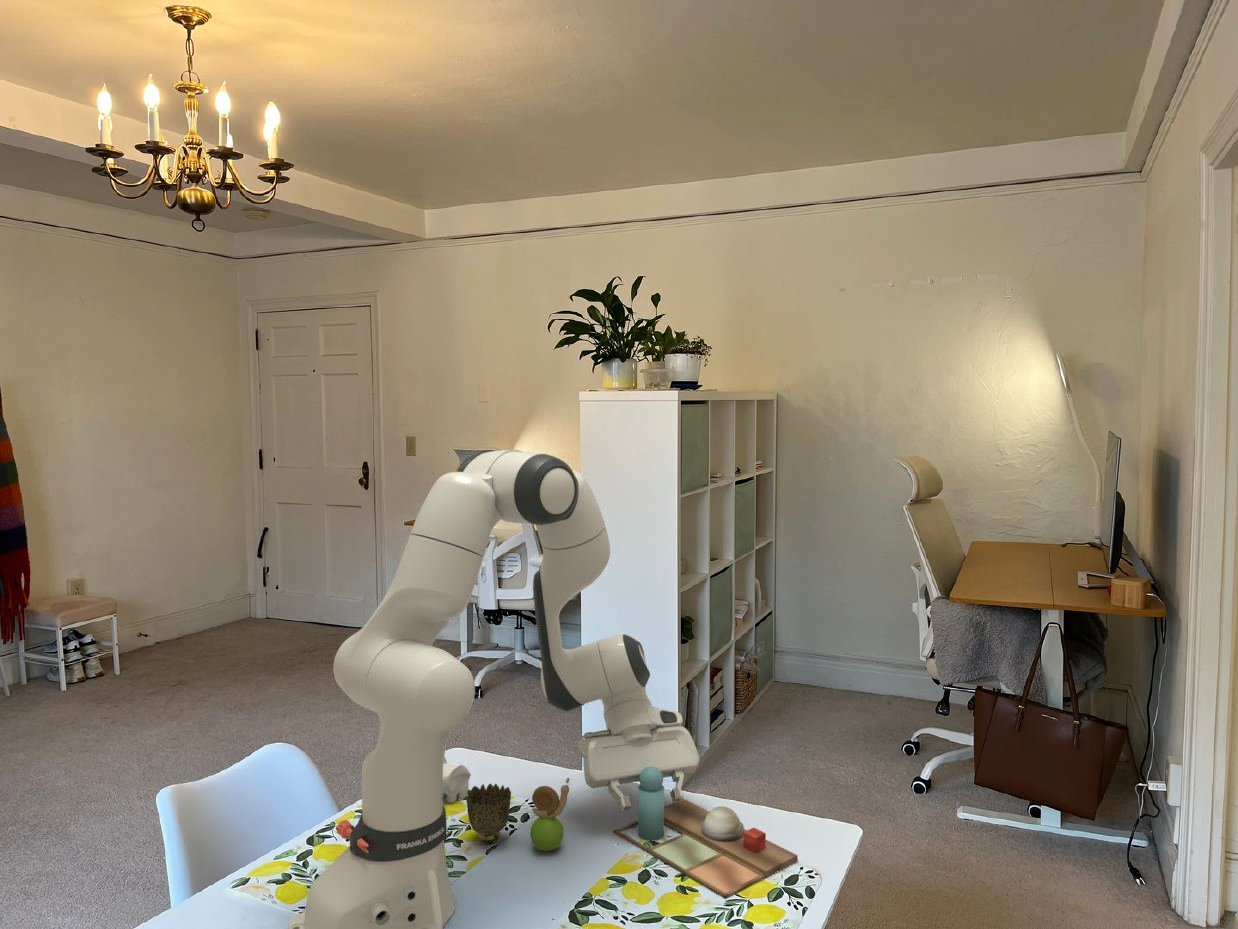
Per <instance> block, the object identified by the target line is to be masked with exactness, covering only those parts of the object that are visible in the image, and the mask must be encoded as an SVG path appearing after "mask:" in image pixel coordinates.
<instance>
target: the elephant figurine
mask: <svg viewBox="0 0 1238 929" xmlns="http://www.w3.org/2000/svg"><path fill="white" fill-rule="evenodd" d="M471 776H472V774H471V772H470V770H469V769H468V767H466V766H465V765H463V764H459V765H458V766H455V765H453V764H449V763H448V762H447V758H446V757H445V756H444V762H443V798H444V797H446V802H448V803H450V804H452V803H455V802H456V801H457V800H460V801H461V800H464V799H466V796H467V795H468V794H467V791H468V790H469V787H470V786H469V785H470V784H469V783H470V782H469V780H470V778H471Z"/></svg>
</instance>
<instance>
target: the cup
mask: <svg viewBox="0 0 1238 929" xmlns="http://www.w3.org/2000/svg"><path fill="white" fill-rule="evenodd" d="M511 796H512V791H511V790H510V787H509V786H508V787H506V788H505V785H504V784H502V785H501V787H499V785H498V784H497V783H494V784H493V785H492V783H489V784H488V785H487V786H486V787H485V784H484V783H483V784H481V786H480V788H479V787H478V786H476V785H474V786H473V787H472V788H471V789H468V791H467V794H466V797H465V800H466V809H467V815H468V822H469V825H470V826H471V828H472V830H473V831H474V832H475V833H477V839H478V841H480V842H481V843H483V844H492V843H496V842H497V841H498V840H499V839H500V836H501V831H503V830H504V828H505V827H506V826H507V823H508V820H509V815H510V809H511V799H512V798H511Z"/></svg>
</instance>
